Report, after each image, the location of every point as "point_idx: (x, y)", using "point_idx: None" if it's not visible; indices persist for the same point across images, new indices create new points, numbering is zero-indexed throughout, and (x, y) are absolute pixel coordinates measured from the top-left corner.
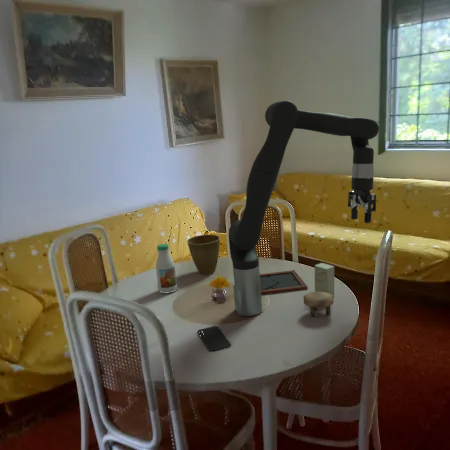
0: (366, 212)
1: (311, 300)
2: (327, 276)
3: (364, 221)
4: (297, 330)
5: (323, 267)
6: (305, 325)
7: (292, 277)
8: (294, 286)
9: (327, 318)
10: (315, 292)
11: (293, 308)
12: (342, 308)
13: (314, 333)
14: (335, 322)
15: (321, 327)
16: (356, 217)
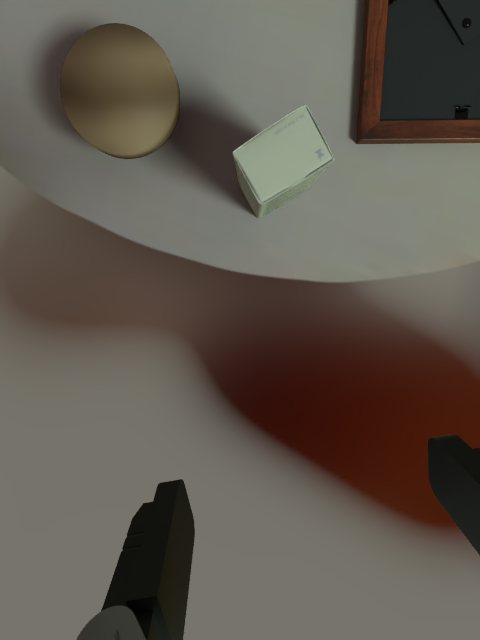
0: (102, 615)
1: (93, 52)
2: (236, 166)
3: (174, 485)
4: (33, 4)
5: (261, 143)
6: (63, 44)
7: None
8: (380, 86)
9: None
10: (168, 95)
11: (202, 37)
12: (159, 210)
13: (6, 58)
14: (67, 151)
15: (41, 94)
16: (440, 494)
